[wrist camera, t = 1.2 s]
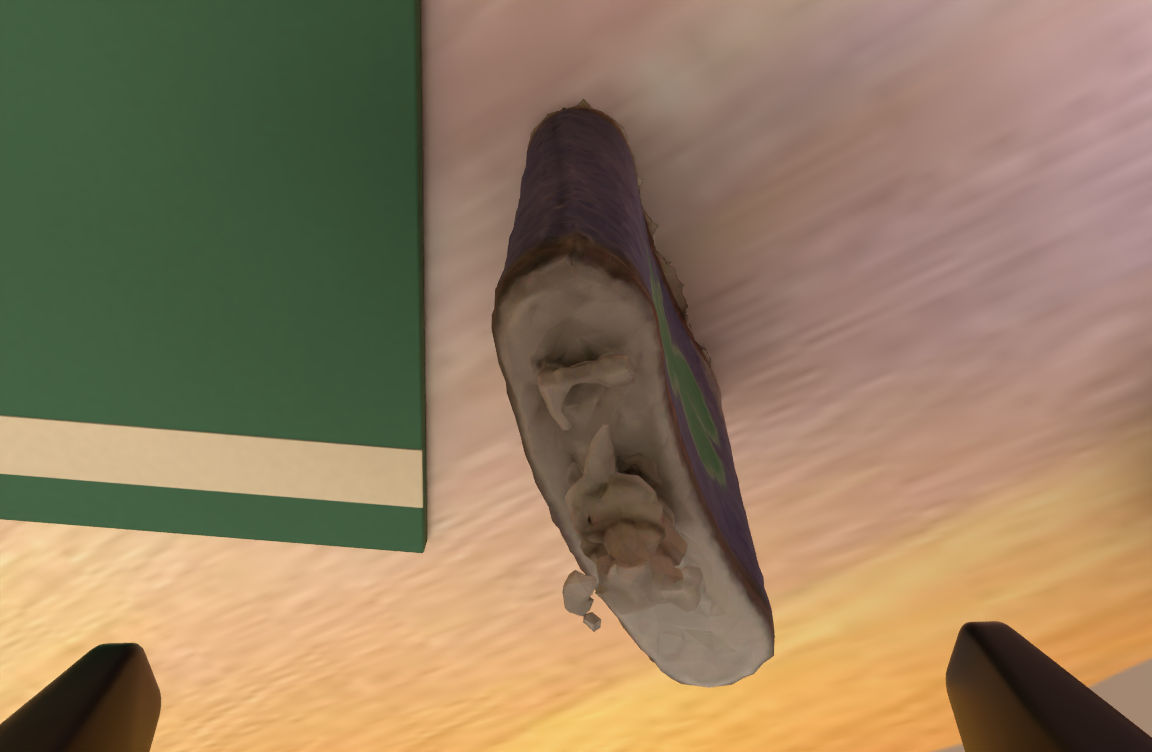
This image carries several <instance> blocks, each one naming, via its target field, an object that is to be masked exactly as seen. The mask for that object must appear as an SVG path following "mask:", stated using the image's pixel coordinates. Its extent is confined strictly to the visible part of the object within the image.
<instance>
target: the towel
mask: <svg viewBox="0 0 1152 752" xmlns="http://www.w3.org/2000/svg"><path fill="white" fill-rule="evenodd" d="M0 519H6V520H18V521H30V522H43V523H55V524H68V525H80V526H93V527H105V528H117V529H130V530H142V531H155V532H167V533H180V534H192V535H204V536H217V537H229V538H242V539H254V540H267V541H279V542H291V543H304V544H316V545H329V546H341V547H354V548H366V549H378V550H391V551H403V552H416V553H423V552H424V550H425V546H426V542H427V500H426V418H425V336H424V255H423V173H422V91H421V9H420V0H0Z"/></svg>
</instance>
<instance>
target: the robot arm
mask: <svg viewBox="0 0 1152 752" xmlns="http://www.w3.org/2000/svg"><path fill="white" fill-rule="evenodd" d="M946 687H947V693H948V696H949V700H950V703H951V706H952V710H953V713H954V716H955V720H956V723H957V726H958V730H959V733H960V736H961V739H962V743H963V746H964V749H965V752H1152V737H1150V736H1149V735H1148V734H1146V733H1145V732H1144V731H1143V730H1141V729H1140V728H1139V727H1137V726H1136V725H1135V724H1134V723H1133V722H1131V721H1130V720H1129V719H1127V718H1126V717H1125V716H1124V715H1122V714H1121V713H1120V712H1118V711H1117V710H1116V709H1114V708H1113V707H1112V706H1111V705H1109V704H1108V703H1107V702H1106V701H1104V700H1103V699H1102V698H1101V697H1099V696H1098V695H1097V694H1095V693H1094V692H1093V691H1092V690H1090V689H1089V688H1088V687H1086V686H1085V685H1084V684H1083V683H1081V682H1080V681H1079V680H1077V679H1076V678H1075V677H1074V676H1072V675H1071V674H1070V673H1069V672H1067V671H1066V670H1065V669H1063V668H1062V667H1061V666H1060V665H1058V664H1057V663H1056V662H1054V661H1053V660H1052V659H1051V658H1049V657H1048V656H1047V655H1045V654H1044V653H1043V652H1042V651H1040V650H1039V649H1038V648H1037V647H1035V646H1034V645H1033V644H1031V643H1030V642H1029V641H1028V640H1026V639H1025V638H1024V637H1022V636H1021V635H1020V634H1019V633H1017V632H1016V631H1015V630H1014V629H1012V628H1011V627H1009V626H1008V625H1006V624H1004V623H1002V622H996V621H990V622H968V623H966V624H964V625H963V626H962V627H961V629H960V631H959V634H958V637H957V640H956V643H955V646H954V649H953V652H952V655H951V658H950V661H949V664H948V667H947V672H946ZM160 709H161V694H160V690H159V687H158V685H157V682H156V680H155V677H154V674H153V672H152V669H151V667H150V664H149V662H148V659H147V657H146V654H145V652H144V650H143V648H142V647H141V646H139V645H138V644H136V643H108V644H102V645H99V646H97V647H95V648H93V649H92V650H90V651H89V652H88V653H87V654H85V655H84V656H83V657H82V658H81V659H79V660H78V661H77V662H76V663H74V664H73V665H72V666H71V667H70V668H68V669H67V670H66V671H65V672H63V673H62V674H61V675H60V676H59V677H57V678H56V679H55V680H54V681H53V682H51V683H50V684H49V685H48V686H46V687H45V688H44V689H43V690H42V691H40V692H39V693H38V694H37V695H35V696H34V697H33V698H32V699H31V700H29V701H28V702H27V703H26V704H24V705H23V706H22V707H21V708H20V709H18V710H17V711H16V712H15V713H14V714H12V715H11V716H10V717H9V718H7V719H6V720H5V721H4V722H3V723H1V724H0V752H149V751H150V748H151V744H152V741H153V737H154V733H155V730H156V726H157V722H158V719H159V715H160Z"/></svg>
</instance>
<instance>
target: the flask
mask: <svg viewBox="0 0 1152 752" xmlns="http://www.w3.org/2000/svg"><path fill="white" fill-rule="evenodd" d="M640 183H642V179H639V178H638V175H637V171H636V167H635V161H634V155H633V154H632V152H631V149H630V147H629V145H628V142H627V139H626V133H625V130H624V129H623V128H622V126H620V125H619V124H618V123H617V122H616V121H614V120H613V119H612V118H610V117H609V116H607V115H605V114H604V113H603V112H601V111H597V110H594V109H592V108H591V107H590V106H589V104H588V103H587V102H586V101H585V100H584V99H583V100H582V101H581V102H580V104H579V105H578V106H577V107H572V108H568V109H566V108H563V109H562V110H560V111H557V112H554V113H551V114H548V115H547V116H546V117H545V119H544V120H543V121H542V122H541V123H540V124H539V125H538V126H537V127H536V128H535V129H534V130H533V131H532V133H531V138H530V142H529V145H528V151H527V160H526V168H525V171H524V174H523V176H522V182H521V193H520V199H519V204H518V209H517V211H516V217H515V223H514V228H513V231H512V233H511V235H510V237H509V245H508V252H507V259H506V262H505V268H504V271H503V273H502V275H501V277H500V280H499V282H498V284H497V287H496V289H495V307H494V311H493V314H492V333H493V338H494V342H495V347H496V352H497V357H498V362H499V365H500V368H501V371H502V373H503V376H504V379H505V381H506V389H507V395H508V397H509V400H510V403H511V406H512V409H513V412H514V415H515V418H516V422H517V425H518V429H519V432H520V436H521V440H522V444H523V448H524V452H525V455H526V458H527V460H528V462H529V464H530V467H531V469H532V472H533V476H534V479H535V483H536V485H537V486H538V488H539V490H540V492H541V494H542V496H543V497H544V499H545V501H546V503H547V505H548V506H549V510H550V514H551V518H552V521H553V522H554V524H555V525H556V526H557V527H558V528H559V529H560V532H561V534H562V536H563V538H564V540H565V542H566V543H567V545H568V547H569V550H570V552H571V553H572V554H573V555H574V557H575V559H576V561H577V563H578V565H579V567H580V569H581V570H582V571H583V572H584V573H585V574H586V575H584V574H582V573H580V572H578V571H576V570H575V571H573V572H572V573H570V574H569V576H568V578H567V579H566V581H565V583H564V586H563V598H564V604H565V608H566V610H567V611H568V612H570V613H574V614H577V615H580V616H584V619H583V622H584V623H585V624H586V625H587V626H588V627H589V628H590V629H592V630H593V631H594V632H595V631H596V630H597V629H599V628H600V625H601V619H600V618H599V617H598V616H596V615H595V614H594V613H593V612H591V613H587V612H588V611H589V610H590V608H591V605H592V603H593V599H592V598H591V597H590V595H592V594H593V591H594V589H595V590H596V592H595V593H596V594H597V595H598V596H599V597H600V598H601V599H603V601H604V602H605V603H606V604H607V606H608V607H609V608H610V609H611V610H612V612H613V613H614V614H615V615H616V616H617V618H618V619H619V621H620V623H621V625H622V626H623V628H624V629H625V630H626V631H627V633H628V634H629V635H630V636H631V638H632V639H633V640H634V641H635V643H636V644H637V645H638V646H639V648H640V649H641V650H642V651H644V652H645V653H646V654H647V655H648V657H649V658H650V660H651V661H653V662H654V663H656V665H657V666H658V667H659V669H660V670H661V671H662V672H663V673H665V674H666V675H667V676H669V677H670V678H671V679H673V680H675V681H677V682H679V683H681V684H687V685H694V686H702V687H717V686H724V685H732V684H734V683H735V682H737V681H739V680H741V679H742V678H744V677H747V676H749V675H752V674H754V673H755V672H756V671H757V670H758V669H759V667H760V666H761V665H762V664H763V663H764V662H766V661H767V660H768V659H770V658H771V657H773V656H774V638H775V635H774V624H773V617H772V610H771V606H770V603H769V599H768V596H767V594H766V591H765V588H764V579H763V575H762V573H761V570H760V568H759V565H758V561H757V557H756V553H755V549H754V545H753V541H752V537H751V533H750V529H749V526H748V521H747V516H746V512H745V509H744V505H743V502H742V498H741V494H740V488H739V482H738V478H737V475H736V471H735V467H734V462H733V456H732V451H731V445H730V442H729V438H728V433H727V429H726V424H725V419H724V415H723V411H722V405H721V392H720V389H719V386H718V384H717V382H716V380H715V378H714V376H713V374H712V371H711V366H710V363H711V358H710V357H709V356H708V355H707V353H708V352H707V351H706V349H702V350H701V349H700V348H699V345H698V344H697V343H696V342H695V340H694V337H693V333H692V331H691V326H690V324H688V315H686V311H685V310H686V308H687V307H688V305H687V303H686V300H685V298H684V296H683V293H682V288H683V286H684V285H683V284H681V283H680V282H679V280H678V279H677V275H676V271H675V269H674V268H672V267H671V266H670V263H671V262H670V263H666V264H665V259H664V258H662V257H661V255H660V254H659V253H658V252H656V249H655V246H654V240H653V237H652V235H653V234H654V231H655V230H656V228H657V227H658V225H656V224H654V223H652V220H651V219H650V218H649V217H648V216H647V214H646V213H645V212H644V211H643V208H642V205H641V200H640V186H639V184H640ZM586 613H587V614H586Z"/></svg>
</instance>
